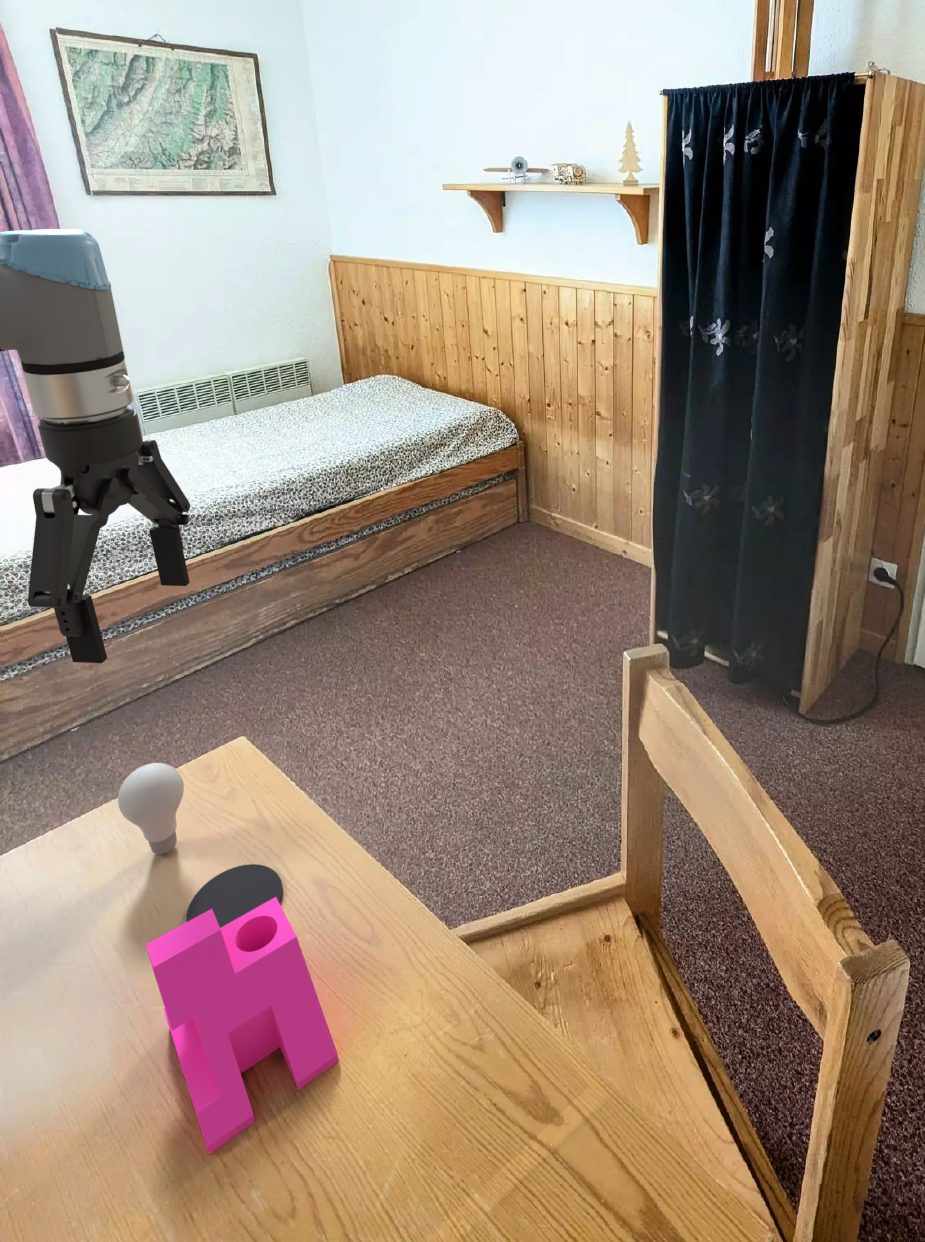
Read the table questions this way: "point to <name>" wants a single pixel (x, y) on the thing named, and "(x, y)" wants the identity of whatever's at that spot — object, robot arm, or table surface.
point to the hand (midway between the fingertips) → (136, 619)
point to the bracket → (238, 1010)
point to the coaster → (236, 893)
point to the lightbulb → (153, 803)
